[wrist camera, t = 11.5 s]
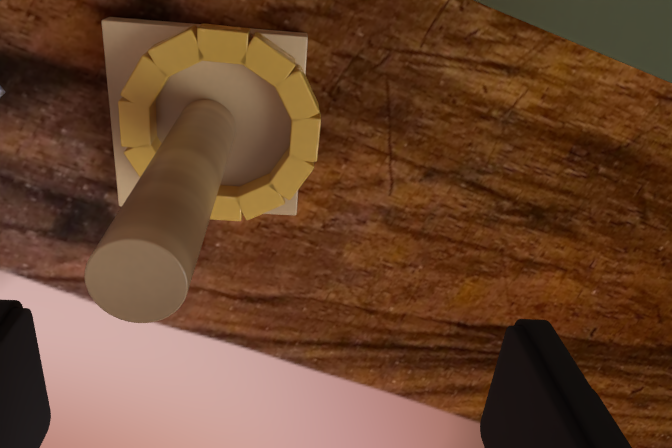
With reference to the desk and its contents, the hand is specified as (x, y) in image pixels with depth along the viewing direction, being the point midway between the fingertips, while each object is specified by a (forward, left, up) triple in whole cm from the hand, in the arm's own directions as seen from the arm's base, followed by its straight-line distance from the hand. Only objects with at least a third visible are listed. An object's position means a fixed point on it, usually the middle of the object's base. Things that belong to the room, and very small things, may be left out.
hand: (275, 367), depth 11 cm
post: (0, -3, -16) cm, 16 cm away
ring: (0, -3, -15) cm, 15 cm away
